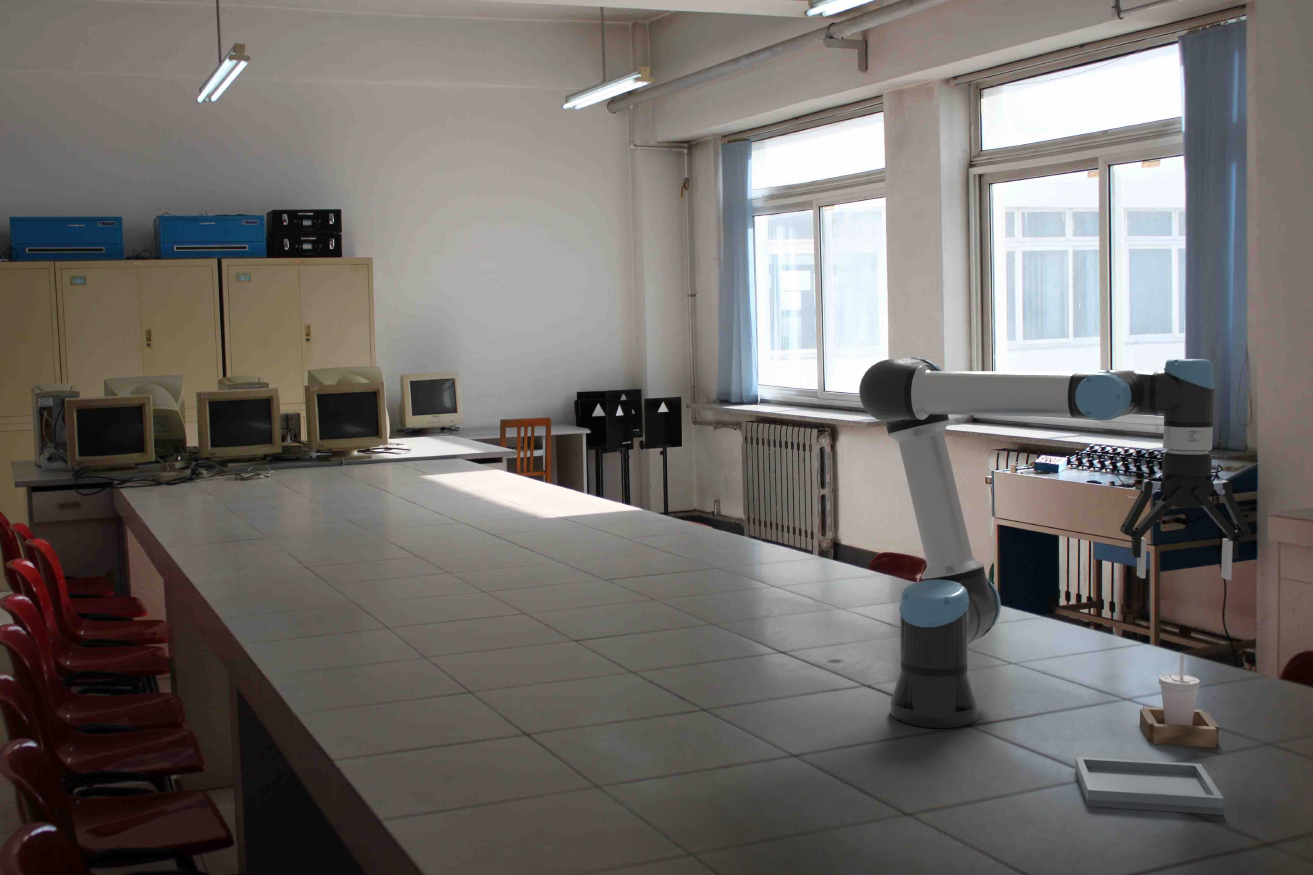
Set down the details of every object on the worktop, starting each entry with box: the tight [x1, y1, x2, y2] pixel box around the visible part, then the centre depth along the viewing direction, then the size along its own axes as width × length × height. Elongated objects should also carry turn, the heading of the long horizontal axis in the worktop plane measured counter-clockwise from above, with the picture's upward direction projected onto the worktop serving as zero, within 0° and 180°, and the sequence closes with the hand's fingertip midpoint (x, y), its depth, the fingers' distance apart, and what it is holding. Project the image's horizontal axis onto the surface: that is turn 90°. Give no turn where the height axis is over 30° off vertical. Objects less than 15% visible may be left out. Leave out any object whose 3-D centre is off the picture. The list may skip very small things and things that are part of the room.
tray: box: [1074, 756, 1225, 816], centre depth 175 cm, size 18×14×2 cm
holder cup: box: [1139, 706, 1220, 748], centre depth 201 cm, size 11×11×3 cm
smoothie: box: [1158, 653, 1201, 726], centre depth 200 cm, size 6×6×14 cm
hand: (1183, 577), depth 200 cm, fingers open, 13 cm apart
